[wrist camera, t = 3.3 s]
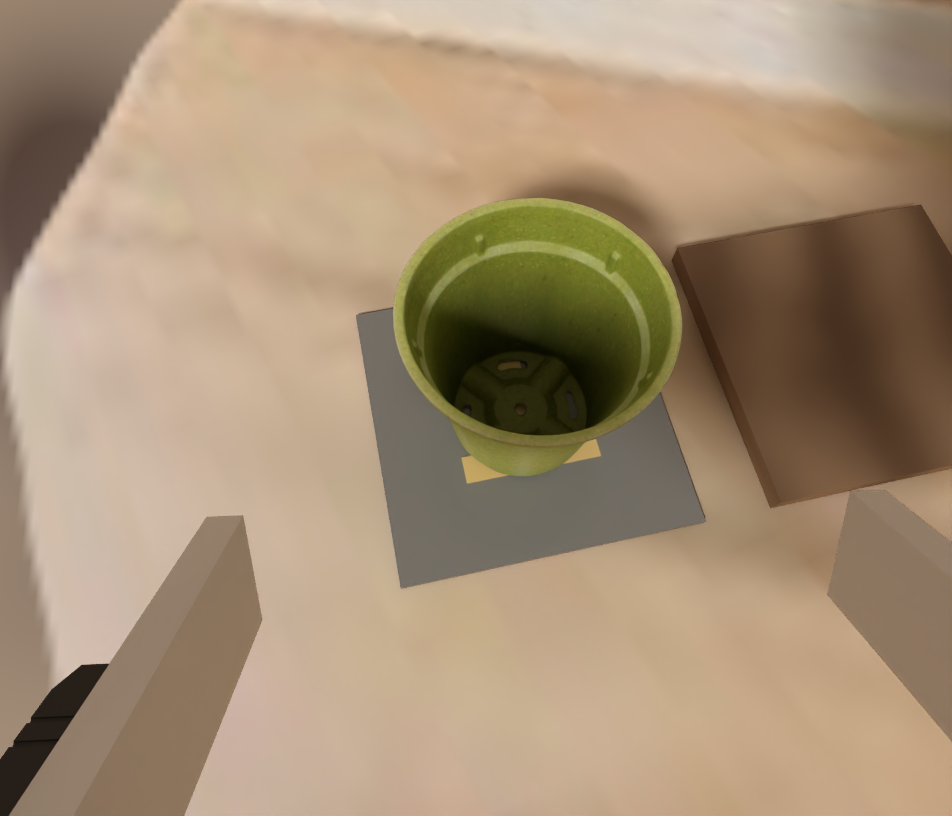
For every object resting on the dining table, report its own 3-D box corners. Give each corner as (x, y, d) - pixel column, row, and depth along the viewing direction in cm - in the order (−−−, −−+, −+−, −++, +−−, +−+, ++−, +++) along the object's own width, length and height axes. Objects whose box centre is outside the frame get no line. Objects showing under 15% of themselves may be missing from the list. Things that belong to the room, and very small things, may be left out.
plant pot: (402, 336, 30) (377, 214, 22) (596, 308, 31) (639, 179, 23) (430, 530, 27) (413, 468, 19) (648, 494, 27) (721, 418, 19)
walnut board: (908, 217, 33) (920, 204, 33) (1043, 447, 29) (1063, 440, 28) (671, 260, 32) (677, 248, 31) (770, 507, 27) (780, 501, 27)
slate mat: (614, 270, 32) (615, 267, 32) (704, 522, 27) (706, 521, 27) (356, 317, 31) (355, 314, 31) (401, 588, 26) (400, 587, 26)
